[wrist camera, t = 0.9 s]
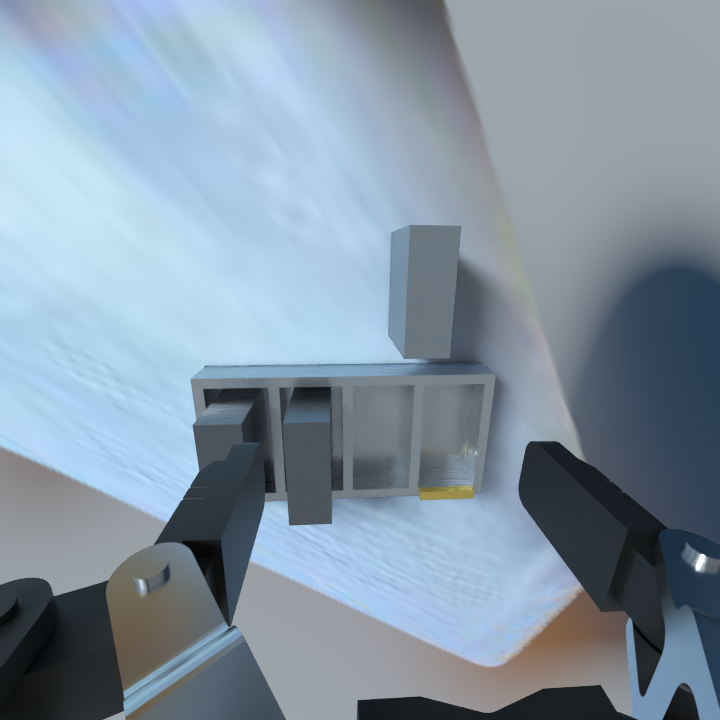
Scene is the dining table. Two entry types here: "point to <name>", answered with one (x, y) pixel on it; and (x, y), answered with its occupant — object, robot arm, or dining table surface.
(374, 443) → the rack
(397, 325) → the grey block
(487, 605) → the dining table surface
